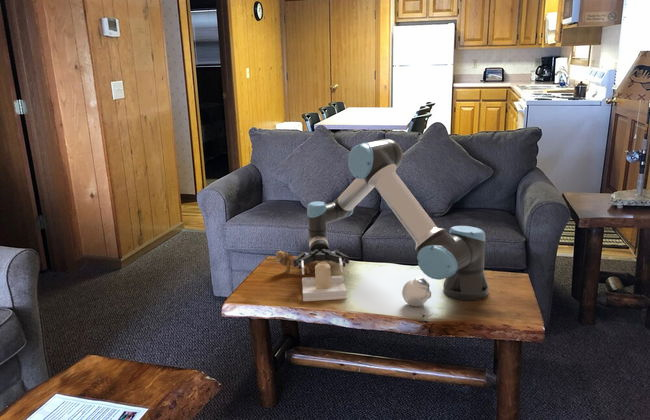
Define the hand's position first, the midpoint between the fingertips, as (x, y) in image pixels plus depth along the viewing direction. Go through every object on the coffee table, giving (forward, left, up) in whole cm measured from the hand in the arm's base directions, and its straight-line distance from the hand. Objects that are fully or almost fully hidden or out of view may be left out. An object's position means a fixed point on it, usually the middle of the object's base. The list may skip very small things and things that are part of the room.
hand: (322, 269), depth 187 cm
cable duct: (0, -2, -9) cm, 9 cm away
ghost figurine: (-30, +13, -9) cm, 34 cm away
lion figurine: (+10, -21, -9) cm, 26 cm away
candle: (0, -2, -8) cm, 8 cm away
